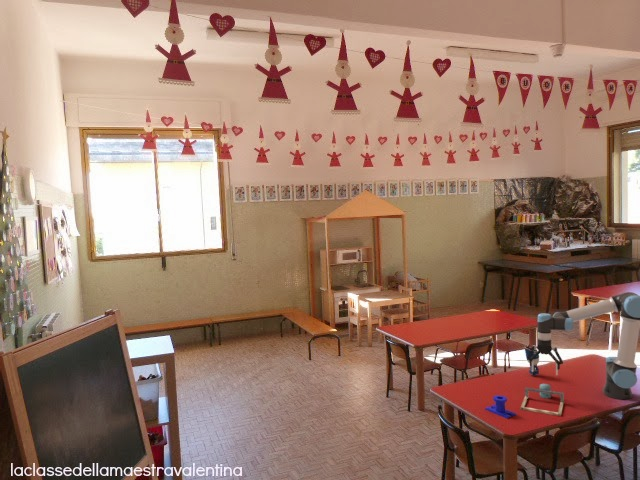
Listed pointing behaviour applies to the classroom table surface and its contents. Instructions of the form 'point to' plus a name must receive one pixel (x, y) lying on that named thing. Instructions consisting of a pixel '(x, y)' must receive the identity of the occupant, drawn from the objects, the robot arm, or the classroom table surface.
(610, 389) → the robot arm
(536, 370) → the figurine
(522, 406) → the shelf frame
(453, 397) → the classroom table surface
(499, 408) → the mount
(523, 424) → the classroom table surface
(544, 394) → the grooved blue cylinder
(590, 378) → the classroom table surface
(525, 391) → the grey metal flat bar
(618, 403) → the classroom table surface
